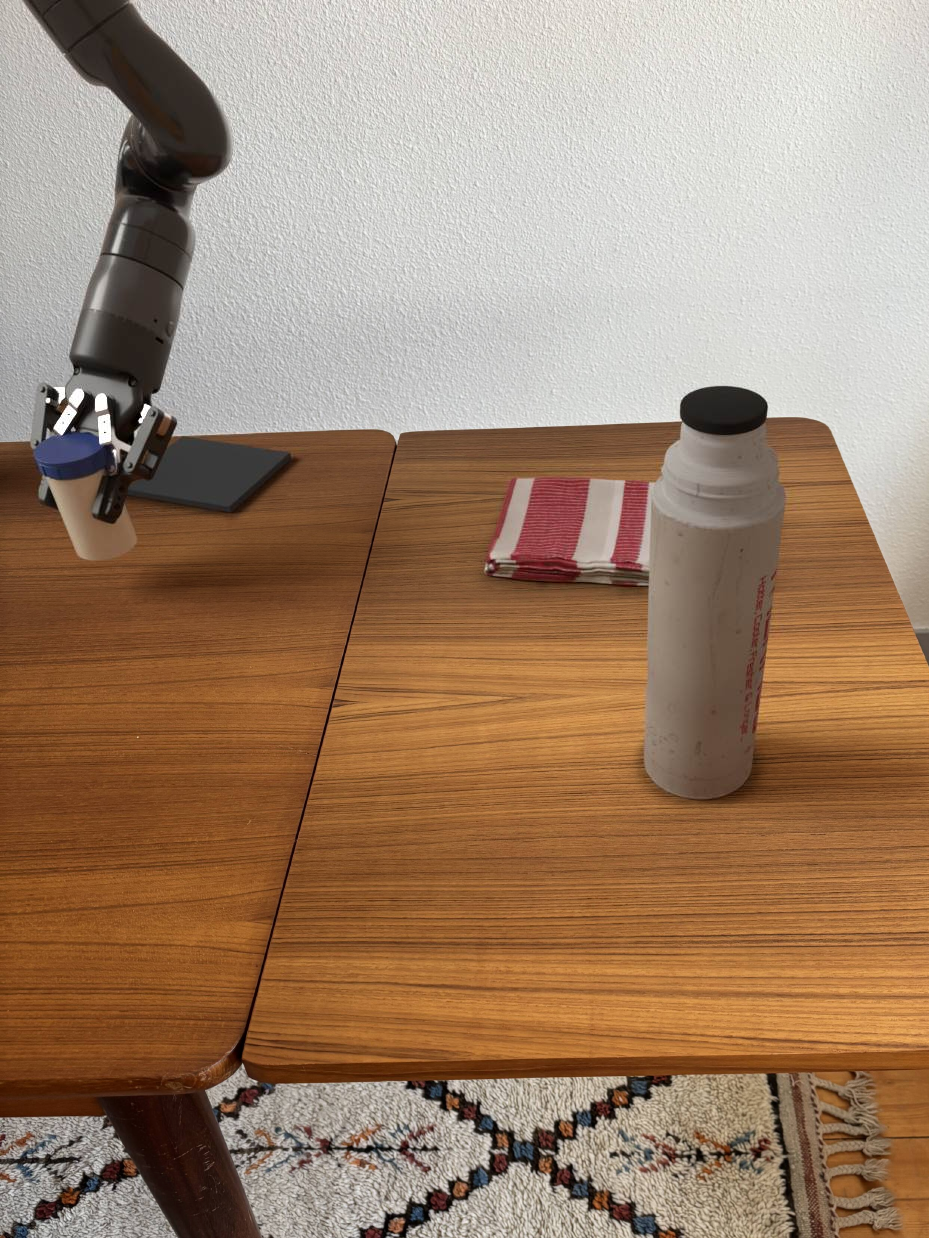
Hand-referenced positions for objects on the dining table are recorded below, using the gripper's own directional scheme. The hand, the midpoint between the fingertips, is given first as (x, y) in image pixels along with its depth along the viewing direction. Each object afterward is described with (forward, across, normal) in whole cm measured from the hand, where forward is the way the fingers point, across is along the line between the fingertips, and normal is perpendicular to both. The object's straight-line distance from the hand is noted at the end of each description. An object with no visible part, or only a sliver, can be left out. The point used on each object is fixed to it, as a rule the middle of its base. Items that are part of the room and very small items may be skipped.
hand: (76, 513), depth 91 cm
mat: (-9, -5, +21) cm, 23 cm away
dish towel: (-13, +40, +24) cm, 49 cm away
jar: (+2, 0, +4) cm, 5 cm away
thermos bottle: (+6, +58, +5) cm, 58 cm away
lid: (-5, 0, -2) cm, 5 cm away
